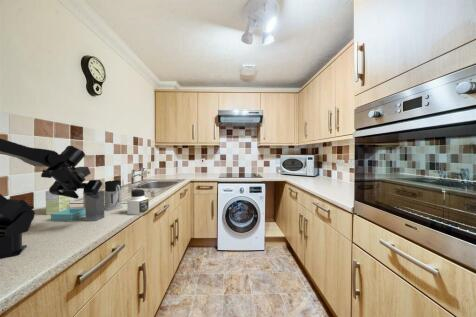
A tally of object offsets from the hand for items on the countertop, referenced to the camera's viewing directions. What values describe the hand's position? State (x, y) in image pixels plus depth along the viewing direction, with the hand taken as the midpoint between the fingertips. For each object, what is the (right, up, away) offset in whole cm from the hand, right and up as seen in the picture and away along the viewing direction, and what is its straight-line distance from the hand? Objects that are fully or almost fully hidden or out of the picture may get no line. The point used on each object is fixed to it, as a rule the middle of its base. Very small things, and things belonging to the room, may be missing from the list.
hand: (88, 197), depth 88 cm
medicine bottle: (+15, -11, +15) cm, 23 cm away
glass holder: (-1, -11, +21) cm, 24 cm away
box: (-28, -11, +16) cm, 34 cm away
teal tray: (-13, -11, +6) cm, 18 cm away
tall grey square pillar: (0, -11, +4) cm, 11 cm away
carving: (-14, -11, +20) cm, 27 cm away
